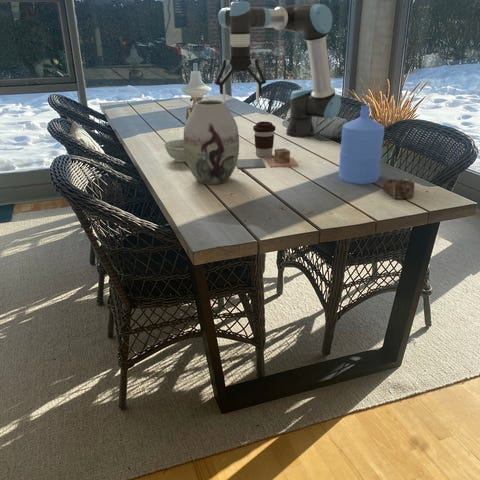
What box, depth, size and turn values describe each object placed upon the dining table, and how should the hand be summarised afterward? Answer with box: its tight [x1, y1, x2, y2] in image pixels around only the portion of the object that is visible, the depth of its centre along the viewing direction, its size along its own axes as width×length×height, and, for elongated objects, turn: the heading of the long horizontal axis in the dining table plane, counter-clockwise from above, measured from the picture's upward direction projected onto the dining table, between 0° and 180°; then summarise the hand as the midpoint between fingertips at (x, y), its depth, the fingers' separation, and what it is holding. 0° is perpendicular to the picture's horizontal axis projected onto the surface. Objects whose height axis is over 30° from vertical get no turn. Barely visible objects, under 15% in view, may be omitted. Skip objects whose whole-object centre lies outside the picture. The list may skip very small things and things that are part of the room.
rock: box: [382, 178, 415, 200], centre depth 173 cm, size 13×8×6 cm, turn 3°
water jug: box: [337, 105, 385, 185], centre depth 186 cm, size 16×16×28 cm
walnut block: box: [273, 148, 291, 164], centre depth 211 cm, size 5×5×5 cm
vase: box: [182, 99, 240, 186], centre depth 186 cm, size 21×21×30 cm
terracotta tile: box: [265, 156, 299, 168], centre depth 212 cm, size 12×12×1 cm
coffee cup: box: [252, 121, 276, 158], centre depth 221 cm, size 10×10×15 cm
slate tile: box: [236, 157, 267, 170], centre depth 211 cm, size 12×12×1 cm
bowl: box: [163, 138, 187, 163], centre depth 217 cm, size 16×16×8 cm
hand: (240, 102), depth 198 cm, fingers open, 13 cm apart
